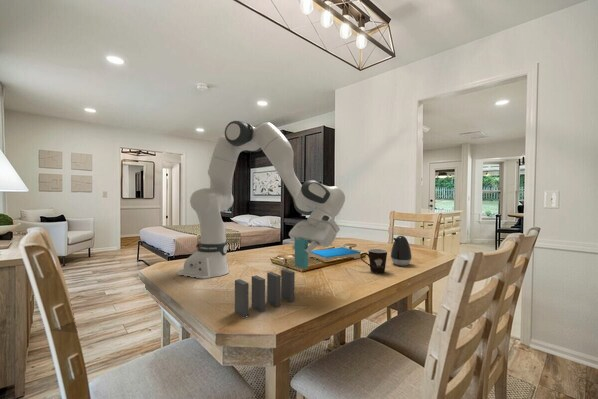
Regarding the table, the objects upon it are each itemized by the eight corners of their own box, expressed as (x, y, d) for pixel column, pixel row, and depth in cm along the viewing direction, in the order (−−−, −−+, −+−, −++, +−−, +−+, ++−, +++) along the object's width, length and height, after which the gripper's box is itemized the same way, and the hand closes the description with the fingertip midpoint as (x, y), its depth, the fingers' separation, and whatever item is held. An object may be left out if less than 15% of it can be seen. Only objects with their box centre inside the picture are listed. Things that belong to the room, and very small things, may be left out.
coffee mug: (389, 271, 130) (389, 250, 130) (383, 275, 123) (384, 253, 123) (365, 267, 137) (366, 247, 136) (359, 271, 130) (359, 250, 129)
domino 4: (290, 302, 92) (290, 273, 92) (281, 297, 96) (281, 269, 96) (294, 301, 93) (294, 272, 93) (285, 296, 97) (285, 268, 97)
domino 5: (304, 268, 96) (304, 240, 96) (294, 266, 100) (294, 238, 100) (308, 268, 97) (307, 240, 97) (298, 265, 101) (298, 238, 101)
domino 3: (276, 307, 88) (276, 276, 88) (267, 302, 92) (267, 272, 92) (280, 305, 89) (280, 275, 89) (271, 300, 93) (271, 271, 93)
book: (361, 252, 157) (325, 256, 144) (360, 259, 157) (325, 264, 144) (341, 246, 171) (308, 250, 159) (341, 253, 172) (308, 257, 159)
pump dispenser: (386, 263, 145) (386, 234, 144) (400, 261, 149) (401, 233, 149) (400, 268, 135) (401, 237, 135) (415, 265, 140) (416, 236, 139)
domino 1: (243, 318, 80) (243, 284, 80) (234, 312, 84) (234, 280, 84) (248, 316, 81) (248, 283, 81) (240, 310, 85) (240, 279, 85)
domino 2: (260, 312, 84) (260, 280, 84) (251, 307, 88) (251, 276, 88) (265, 310, 85) (265, 279, 85) (256, 305, 89) (256, 275, 89)
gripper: (297, 214, 110) (277, 241, 104) (335, 218, 95) (315, 250, 89) (305, 225, 113) (287, 251, 107) (343, 229, 98) (324, 261, 92)
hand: (299, 251), depth 98 cm, fingers closed on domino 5, 5 cm apart
